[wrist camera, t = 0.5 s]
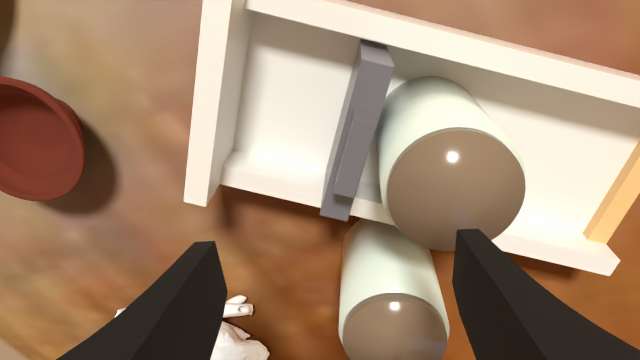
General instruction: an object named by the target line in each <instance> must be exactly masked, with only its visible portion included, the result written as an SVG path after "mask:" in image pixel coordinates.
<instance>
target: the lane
mask: <svg viewBox="0 0 640 360" xmlns="http://www.w3.org/2000/svg"><path fill="white" fill-rule="evenodd" d="M360 39H363V40H367V41H371V42H375V43H379V44H383V45H386V46H387V48H388V51H389V54H390V56H391V59H392V62H393V64H394V67H395V68H394V71H393V74H392V78H391V81H390V84H389V87H388V91H387V94H386V97H387V95H388V94H389V93H390V92H391V91H392V90H394V89H395V88H396V87H398V86H399V85H401V84H402V83H404V82H406V81H408V80H411V79H414V78H418V77H424V76H438V77H443V78H447V79H450V80H452V81H454V82H456V83H458V84H459V85H461V86H462V87H463V88H464V89H466V90H467V91H468V93H469V94H470V95H471V96H472V97H473V98H474V99H475V101H476V102H477V103H478V104H479V105H480V106H481V107H482V109H483V110H484V111H485V112H486V113H487V114H488V116H489V117H490V118H491V119H492V120H493V121H494V122H495V124H496V125H497V126H498V127H499V128H500V129H501V130H502V132H503V133H504V134H505V135H506V136H507V137H508V139H509V140H510V141H511V142H512V143H513V145H514V146H515V147H516V148H517V150H518V152H519V154H520V155H521V158H522V160H523V163H524V168H525V177H526V181H525V186H526V190H525V197H524V201H523V204H522V207H521V209H520V211H519V213H518V215H517V216H516V218H515V220H514V221H513V222H512V223H511V225H510V226H509V227H508V228H507V229H506V230H505V231H504V232H502V233H501V234H500V235H499V236H497V237H496V238H494V239H493V240H491V241H492V242H493V243H494V244H495V245H496V246H497V247H498V248H499V249H500V250H501V251H505V252H510V253H514V254H518V255H522V256H527V257H531V258H535V259H539V260H543V261H548V262H552V263H556V264H560V265H565V266H569V267H573V268H577V269H582V270H586V271H590V272H594V273H599V274H603V275H607V276H610V275H611V274H612V272H613V271H614V269H615V268H616V266H617V265H618V263H619V262H620V260H619V258H618V257H617V256H616V255H615V254H614V253H613V252H612V251H611V249H610V248H609V247H608V246H607V245H606V243H607V242H608V240H609V239H610V237H611V236H612V234H613V232H614V231H615V229H616V228H617V226H618V225H619V223H620V222H621V220H622V219H623V217H624V216H625V214H626V213H627V211H628V209H629V208H630V206H631V205H632V203H633V202H634V200H635V199H636V197H637V196H638V194H639V193H640V75H637V74H633V73H629V72H625V71H621V70H617V69H613V68H609V67H605V66H601V65H597V64H594V63H590V62H586V61H582V60H578V59H574V58H570V57H566V56H562V55H558V54H554V53H550V52H546V51H543V50H539V49H535V48H531V47H527V46H523V45H519V44H515V43H511V42H507V41H503V40H499V39H496V38H492V37H488V36H484V35H480V34H476V33H472V32H468V31H464V30H460V29H456V28H452V27H448V26H445V25H441V24H437V23H433V22H429V21H425V20H421V19H417V18H413V17H409V16H405V15H401V14H397V13H394V12H390V11H386V10H382V9H378V8H374V7H370V6H366V5H362V4H358V3H354V2H350V1H347V0H203V7H202V17H201V28H200V38H199V48H198V58H197V69H196V79H195V89H194V99H193V110H192V120H191V130H190V141H189V151H188V161H187V171H186V182H185V192H184V202H187V203H192V204H196V205H200V206H204V207H206V206H207V204H208V203H209V201H210V199H211V198H212V196H213V194H214V193H215V191H216V189H217V188H218V186H219V184H222V185H226V186H230V187H234V188H238V189H243V190H247V191H251V192H255V193H260V194H264V195H268V196H272V197H277V198H281V199H285V200H289V201H294V202H298V203H302V204H306V205H310V206H315V207H319V208H321V201H322V194H323V187H324V180H325V173H326V167H327V164H328V160H329V156H330V152H331V148H332V145H333V141H334V137H335V133H336V129H337V126H338V122H339V118H340V114H341V110H342V106H343V103H344V99H345V95H346V91H347V87H348V84H349V80H350V76H351V72H352V68H353V65H354V61H355V57H356V53H357V49H358V46H359V42H360ZM386 97H385V98H386ZM349 215H353V216H357V217H361V218H366V219H370V220H374V221H378V222H382V223H387V224H391V225H394V224H393V222H392V221H391V220H390V218H389V217H388V215H387V213H386V211H385V208H384V206H383V202H382V197H381V189H380V180H379V171H378V162H377V153H376V144H375V135H374V136H373V140H372V143H371V146H370V149H369V153H368V156H367V159H366V162H365V166H364V169H363V172H362V175H361V179H360V182H359V185H358V188H357V192H356V195H355V198H354V201H353V205H352V208H351V211H350V214H349Z"/></svg>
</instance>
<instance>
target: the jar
mask: <svg viewBox="0 0 640 360" xmlns="http://www.w3.org/2000/svg"><path fill="white" fill-rule="evenodd" d="M449 329H450V328H449V322H448V318H447V314H446V310H445V306H444V302H443V298H442V295H441V291H440V287H439V283H438V279H437V275H436V271H435V268H434V264H433V260H432V256H431V252H430V249H429V248H426V247H423V246H421V245H418V244H416V243H415V242H413V241H411V240H410V239H409V238H407V237H406V236H405V235H404V234H403V233H402V232H401V231H400V230H399V229H398V228H397V227H396V226H395V225H391V224H387V223H382V222H378V221H374V220H370V219H366V218H362V219H360V220H359V221H357V222H356V223H355V224H353V225H352V226H351V228H350V229H349V230H348V231H347V233H346V235H345V237H344V240H343V245H342V266H341V288H340V310H339V337H340V340H341V342H342V344H343V347H344V350H345V352H346V354H347V356H348V357H349V359H350V360H440V359H441V358H442V356H443V354H444V353H445V350H446V347H447V340H448V337H449Z"/></svg>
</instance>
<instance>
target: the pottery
mask: <svg viewBox="0 0 640 360" xmlns="http://www.w3.org/2000/svg"><path fill="white" fill-rule="evenodd" d="M85 160H86V149H85V143H84V139H83V136H82V126H81V122H80V120H79V118H78V116H77V114H76V113H75V112H74V110H73V109H72V108H71V107H70V106H69V105H67V104H66V103H65V102H63V101H61V100H59V99H56V98H54V97H53V96H52V95H50V94H49V93H47V92H46V91H44V90H42V89H41V88H39V87H37V86H34V85H32V84H30V83H27V82H24V81H20V80H16V79H12V78H6V77H0V190H1V191H2V192H4V193H7V194H9V195H11V196H14V197H17V198H20V199H24V200H30V201H49V200H54V199H57V198H60V197H62V196H64V195H66V194H67V193H69V192H70V191H71V190H72V189H73V188H74V187H75V186H76V185H77V184H78V182H79V180H80V178H81V176H82V173H83V170H84V166H85Z"/></svg>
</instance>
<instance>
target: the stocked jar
mask: <svg viewBox="0 0 640 360" xmlns="http://www.w3.org/2000/svg"><path fill="white" fill-rule="evenodd" d="M374 135H375V144H376V153H377V162H378V171H379V180H380V189H381V197H382V202H383V206H384V208H385V211H386V213H387V215H388V217H389V218H390V220H391V221H392V222H393V224H394V225H395V226H396V227H397V228H398V229H399V230H400V231H401V232H402V233H403V234H404V235H405V236H406V237H407V238H409V239H410V240H411V241H413V242H415V243H416V244H418V245H421V246H423V247H426V248H429V249H432V250H438V251H455V245H456V234H457V230H458V229H479V230H480V231H482V232H483V233H484V234H485V235H486V236H487V237H488V238H489V239H490V240H493V239H494V238H496V237H497V236H499V235H500V234H501V233H502V232H504V231H505V230H506V229H507V228H508V227H509V226H510V225H511V223H512V222H513V221H514V220H515V218H516V216H517V215H518V213H519V211H520V209H521V207H522V204H523V201H524V197H525V190H526V186H525V181H526V177H525V168H524V163H523V160H522V158H521V155H520V154H519V152H518V150H517V148H516V147H515V146H514V145H513V143H512V142H511V141H510V140H509V139H508V137H507V136H506V135H505V134H504V133H503V132H502V130H501V129H500V128H499V127H498V126H497V125H496V124H495V122H494V121H493V120H492V119H491V118H490V117H489V116H488V114H487V113H486V112H485V111H484V110H483V109H482V107H481V106H480V105H479V104H478V103H477V102H476V101H475V99H474V98H473V97H472V96H471V95H470V94H469V93H468V91H467V90H466V89H464V88H463V87H462V86H461V85H459V84H458V83H456V82H454V81H452V80H450V79H447V78H443V77H438V76H424V77H418V78H414V79H411V80H408V81H406V82H404V83H402V84H401V85H399V86H398V87H396V88H395V89H394V90H392V91H391V92H390V93H389V94H388V95H387V97H386V98H385V100H384V104H383V107H382V110H381V113H380V117H379V120H378V123H377V126H376V130H375V133H374Z"/></svg>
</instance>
